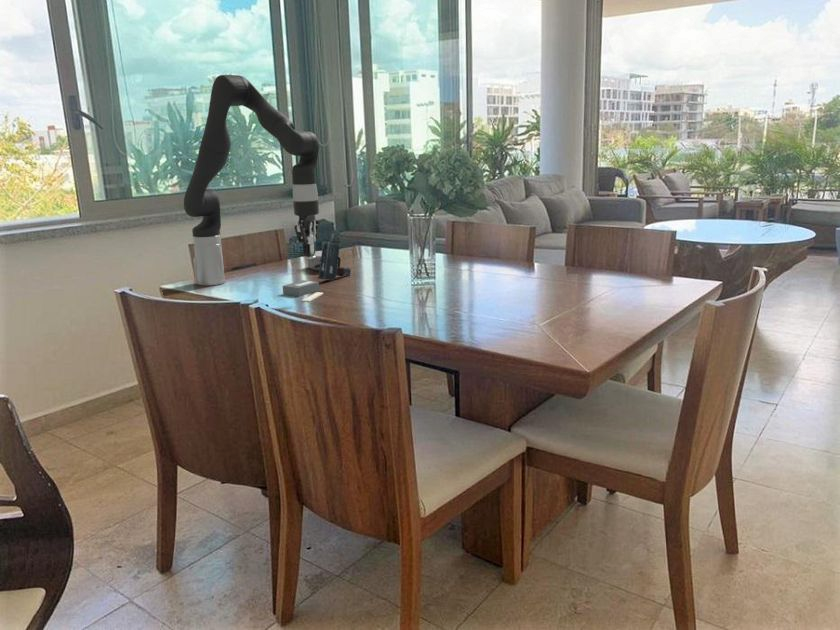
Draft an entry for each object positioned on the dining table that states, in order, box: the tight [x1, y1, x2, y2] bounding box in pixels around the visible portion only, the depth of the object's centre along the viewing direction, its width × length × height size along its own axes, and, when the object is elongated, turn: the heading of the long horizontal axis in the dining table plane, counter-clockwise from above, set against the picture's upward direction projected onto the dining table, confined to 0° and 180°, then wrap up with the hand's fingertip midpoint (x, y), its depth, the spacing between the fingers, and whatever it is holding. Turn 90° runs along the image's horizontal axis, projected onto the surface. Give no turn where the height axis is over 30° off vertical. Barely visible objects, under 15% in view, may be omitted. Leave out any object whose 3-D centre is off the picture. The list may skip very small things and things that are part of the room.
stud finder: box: [282, 279, 320, 297], centre depth 215 cm, size 7×10×4 cm
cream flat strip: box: [301, 291, 324, 303], centre depth 207 cm, size 2×11×1 cm, turn 165°
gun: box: [317, 232, 352, 281], centre depth 234 cm, size 3×17×15 cm
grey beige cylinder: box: [302, 232, 316, 260], centre depth 202 cm, size 4×4×8 cm
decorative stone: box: [307, 250, 322, 272], centre depth 254 cm, size 15×7×10 cm
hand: (309, 254), depth 202 cm, fingers closed on grey beige cylinder, 3 cm apart
